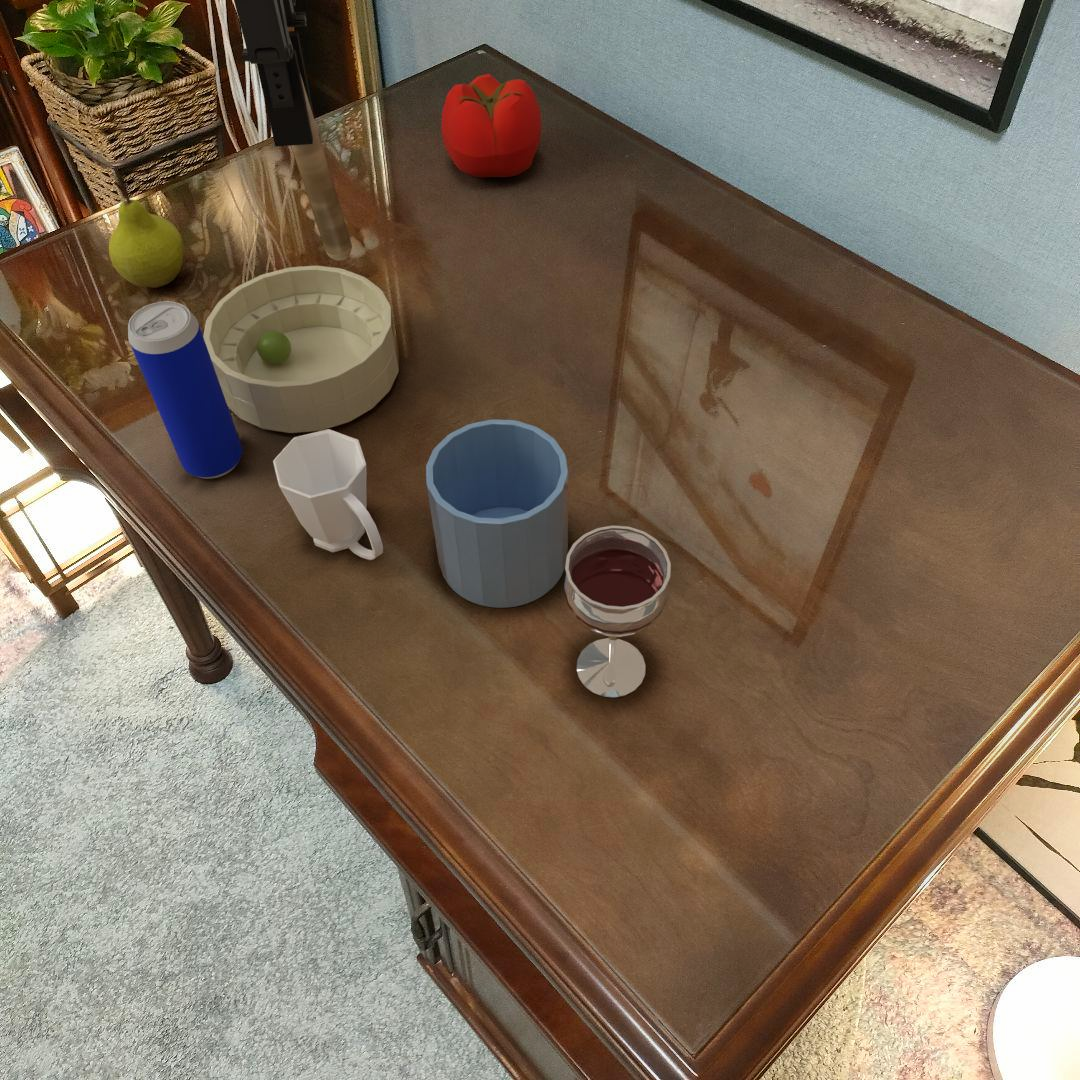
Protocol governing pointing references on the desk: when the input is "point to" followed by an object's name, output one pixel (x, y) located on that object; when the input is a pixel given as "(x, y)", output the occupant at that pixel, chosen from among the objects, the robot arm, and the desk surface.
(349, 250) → the stick
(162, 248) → the fruit
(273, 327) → the bowl
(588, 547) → the wineglass
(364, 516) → the cup
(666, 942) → the desk surface
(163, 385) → the beverage can
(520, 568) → the utensil pot
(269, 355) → the olive
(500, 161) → the tomato
